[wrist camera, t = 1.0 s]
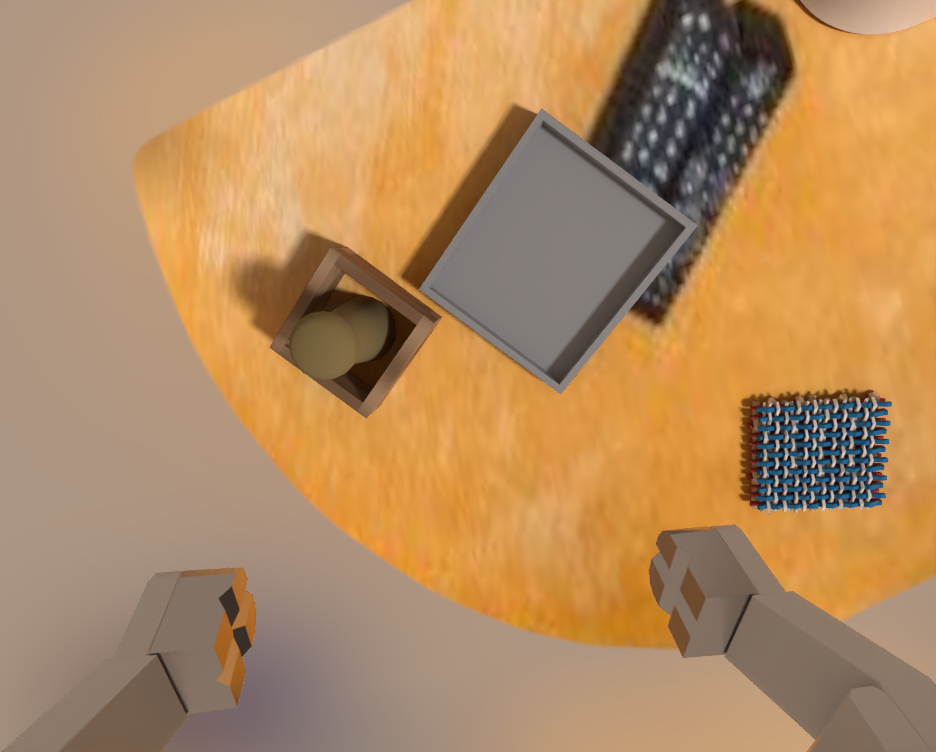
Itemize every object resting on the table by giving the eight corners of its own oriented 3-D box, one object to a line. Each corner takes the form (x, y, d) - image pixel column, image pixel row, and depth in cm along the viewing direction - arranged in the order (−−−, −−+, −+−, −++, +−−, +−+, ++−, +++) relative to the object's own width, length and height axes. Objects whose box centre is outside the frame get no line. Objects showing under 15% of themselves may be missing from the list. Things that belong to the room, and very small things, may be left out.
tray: (541, 116, 44) (541, 108, 42) (689, 226, 44) (697, 225, 42) (425, 287, 48) (418, 289, 46) (560, 387, 49) (560, 394, 46)
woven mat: (744, 395, 47) (752, 402, 45) (879, 388, 45) (894, 394, 44) (743, 507, 49) (751, 517, 47) (872, 503, 48) (886, 514, 46)
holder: (347, 247, 49) (330, 246, 45) (442, 317, 49) (433, 322, 45) (290, 340, 51) (269, 347, 48) (379, 405, 52) (366, 418, 48)
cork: (323, 307, 50) (263, 322, 40) (383, 287, 49) (337, 297, 38) (346, 368, 51) (293, 399, 41) (405, 350, 50) (366, 377, 39)
